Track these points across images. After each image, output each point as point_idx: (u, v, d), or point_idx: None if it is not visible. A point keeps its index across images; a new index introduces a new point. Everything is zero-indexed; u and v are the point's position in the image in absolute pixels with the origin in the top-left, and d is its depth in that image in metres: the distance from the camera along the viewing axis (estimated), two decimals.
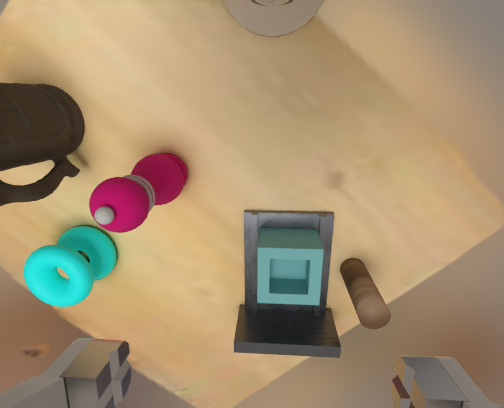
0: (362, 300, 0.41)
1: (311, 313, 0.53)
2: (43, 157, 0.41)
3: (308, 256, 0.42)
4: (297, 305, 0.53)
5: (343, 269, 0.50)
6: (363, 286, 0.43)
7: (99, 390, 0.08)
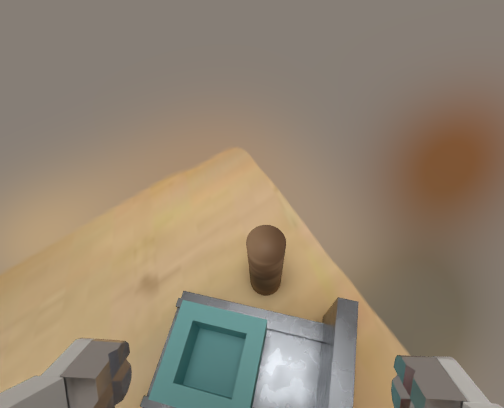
0: (249, 257, 0.31)
1: (322, 344, 0.35)
2: None
3: (186, 322, 0.31)
4: (309, 365, 0.35)
5: (256, 289, 0.39)
6: None
7: (99, 390, 0.08)
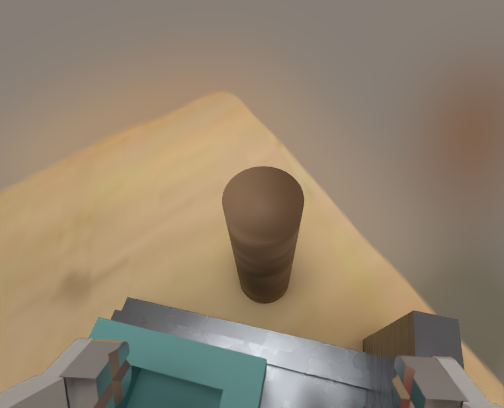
0: (229, 230, 0.16)
1: (368, 394, 0.19)
2: None
3: None
4: None
5: (249, 293, 0.23)
6: None
7: (99, 390, 0.08)
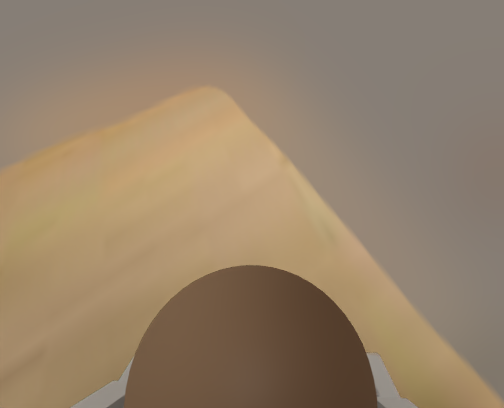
0: None
1: None
2: None
3: None
4: None
5: None
6: None
7: None
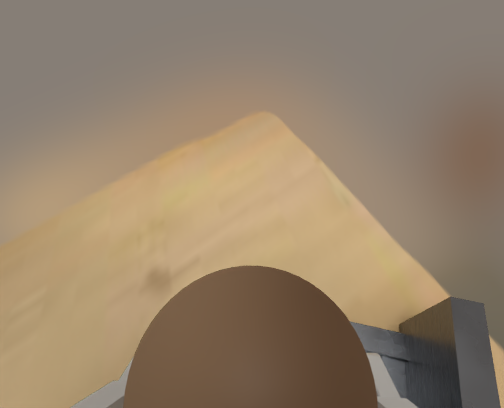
0: None
1: (408, 364, 0.24)
2: None
3: None
4: None
5: None
6: None
7: None
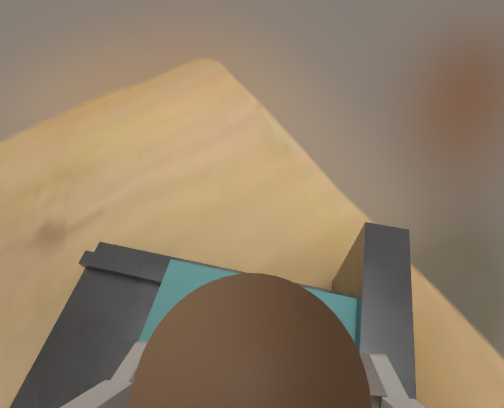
0: None
1: None
2: None
3: None
4: None
5: None
6: None
7: None
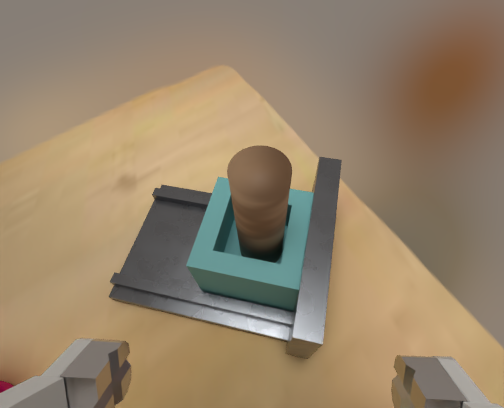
0: (233, 195, 0.20)
1: None
2: None
3: (223, 196, 0.28)
4: None
5: None
6: None
7: (99, 390, 0.08)
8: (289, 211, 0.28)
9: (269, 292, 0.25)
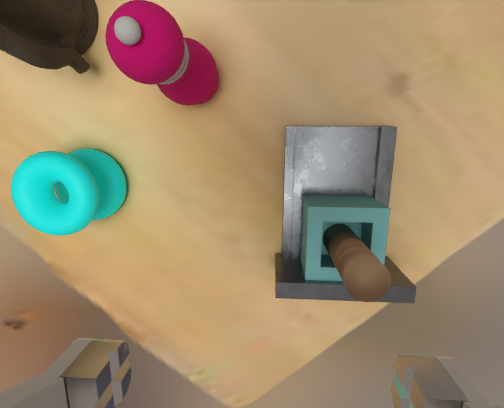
0: (350, 260, 0.29)
1: None
2: (47, 35, 0.34)
3: (370, 217, 0.34)
4: None
5: (326, 237, 0.38)
6: (351, 246, 0.31)
7: (99, 390, 0.08)
8: None
9: (303, 254, 0.38)
